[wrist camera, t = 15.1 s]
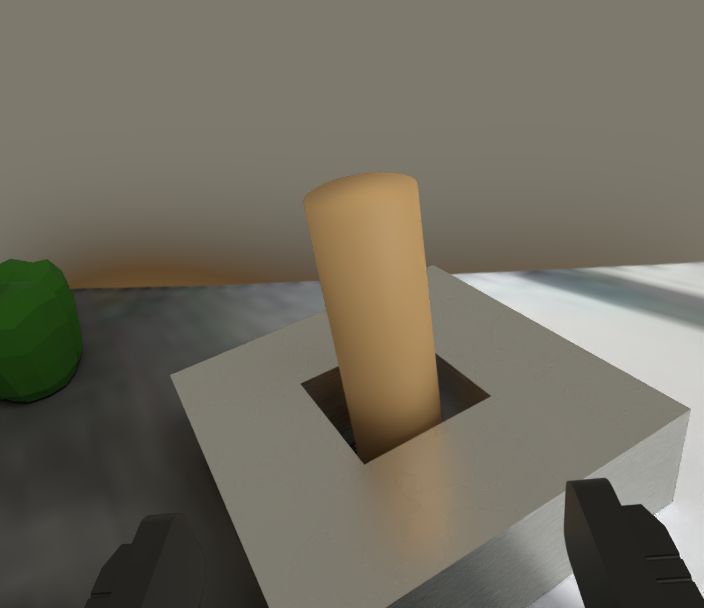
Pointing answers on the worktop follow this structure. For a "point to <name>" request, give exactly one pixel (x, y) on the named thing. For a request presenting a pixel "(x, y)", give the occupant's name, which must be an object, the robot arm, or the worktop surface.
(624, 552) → the robot arm
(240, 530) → the grey flat block
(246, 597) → the worktop surface
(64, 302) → the bell pepper
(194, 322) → the worktop surface
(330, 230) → the pin
